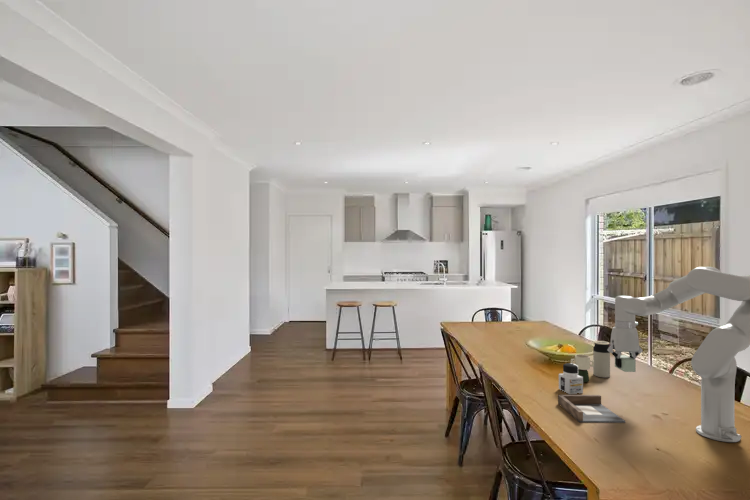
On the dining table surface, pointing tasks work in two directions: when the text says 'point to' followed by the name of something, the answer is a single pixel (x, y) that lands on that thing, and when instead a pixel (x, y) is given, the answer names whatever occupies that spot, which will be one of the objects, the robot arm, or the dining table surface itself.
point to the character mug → (583, 365)
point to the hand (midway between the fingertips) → (624, 366)
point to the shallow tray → (588, 408)
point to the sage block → (627, 364)
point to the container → (570, 379)
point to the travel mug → (601, 359)
